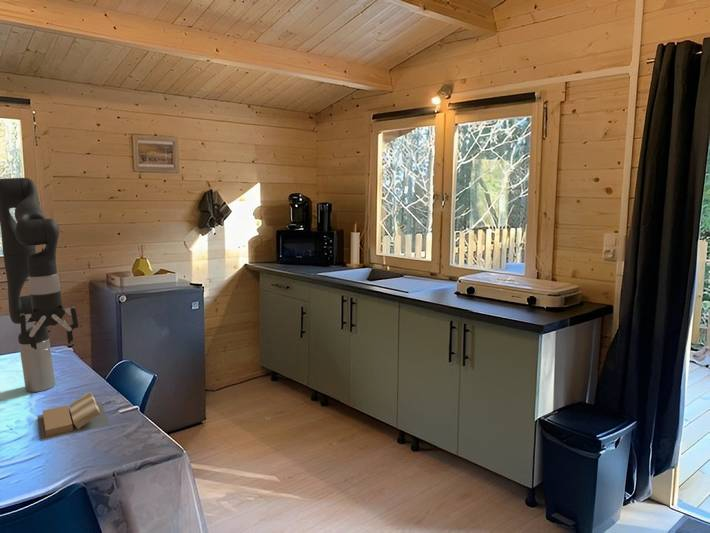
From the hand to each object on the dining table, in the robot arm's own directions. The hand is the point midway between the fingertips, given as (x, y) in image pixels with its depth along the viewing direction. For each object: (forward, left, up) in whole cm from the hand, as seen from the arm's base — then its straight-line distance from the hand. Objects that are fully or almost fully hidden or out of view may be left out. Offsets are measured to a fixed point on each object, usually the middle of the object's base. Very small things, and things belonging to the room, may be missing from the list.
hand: (52, 345), depth 159 cm
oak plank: (-4, +7, -23) cm, 24 cm away
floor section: (-4, +3, -25) cm, 26 cm away
